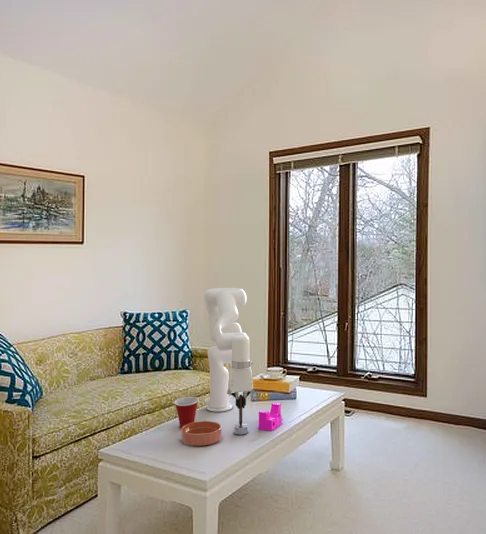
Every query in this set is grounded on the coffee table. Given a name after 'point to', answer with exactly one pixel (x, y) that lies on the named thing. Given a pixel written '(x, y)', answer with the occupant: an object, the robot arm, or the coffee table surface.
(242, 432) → the meat pounder
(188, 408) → the plastic cup
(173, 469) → the coffee table surface
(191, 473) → the coffee table surface
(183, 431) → the bowl
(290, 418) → the coffee table surface
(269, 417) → the toy block
